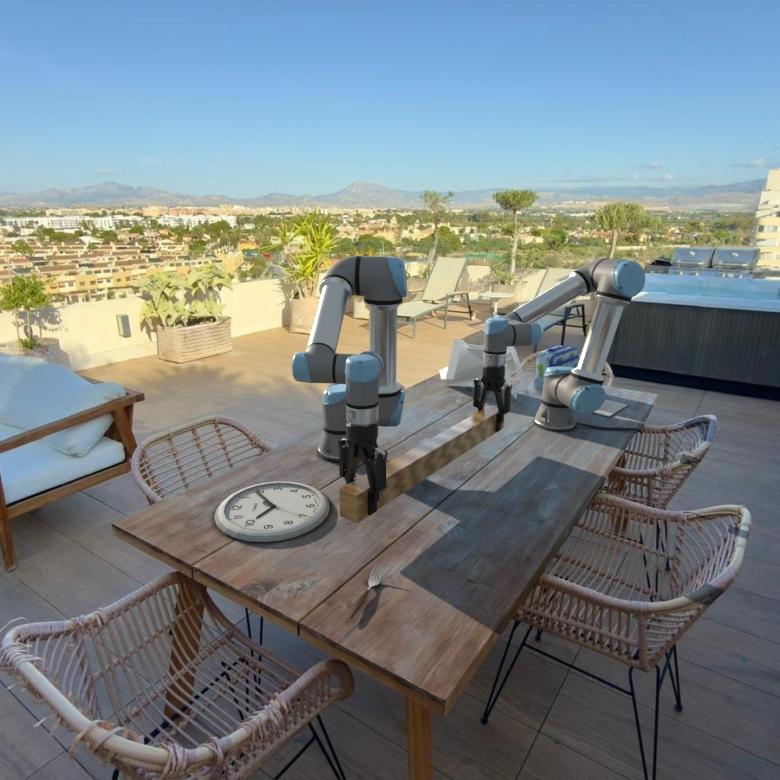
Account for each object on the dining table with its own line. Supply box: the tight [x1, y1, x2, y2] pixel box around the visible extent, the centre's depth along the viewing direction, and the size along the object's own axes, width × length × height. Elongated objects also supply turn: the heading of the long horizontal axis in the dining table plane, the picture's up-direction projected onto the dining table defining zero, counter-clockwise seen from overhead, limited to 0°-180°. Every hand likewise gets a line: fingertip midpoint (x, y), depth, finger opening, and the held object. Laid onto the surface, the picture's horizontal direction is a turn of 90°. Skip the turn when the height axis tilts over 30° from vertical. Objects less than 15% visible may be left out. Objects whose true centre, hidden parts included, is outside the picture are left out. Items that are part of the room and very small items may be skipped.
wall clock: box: [213, 481, 331, 543], centre depth 139 cm, size 30×2×30 cm
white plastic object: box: [438, 310, 531, 400], centre depth 245 cm, size 37×45×31 cm
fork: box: [349, 563, 386, 620], centre depth 108 cm, size 3×16×2 cm, turn 160°
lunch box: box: [533, 345, 580, 393], centre depth 245 cm, size 26×11×21 cm, turn 135°
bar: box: [339, 404, 505, 524], centre depth 155 cm, size 80×5×7 cm, turn 143°
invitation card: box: [592, 398, 629, 418], centre depth 226 cm, size 21×1×15 cm
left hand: (362, 508), depth 129 cm, fingers closed on bar, 5 cm apart
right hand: (489, 428), depth 182 cm, fingers closed on bar, 5 cm apart
